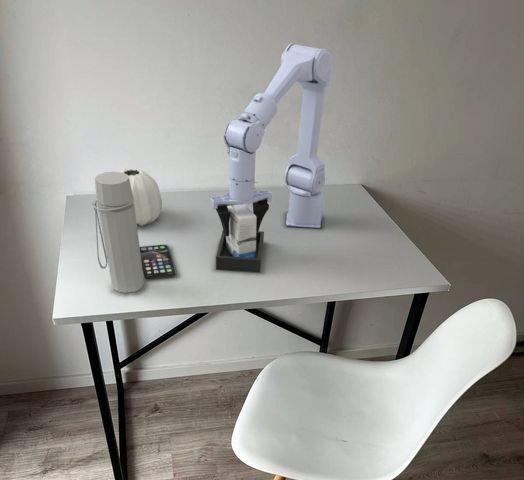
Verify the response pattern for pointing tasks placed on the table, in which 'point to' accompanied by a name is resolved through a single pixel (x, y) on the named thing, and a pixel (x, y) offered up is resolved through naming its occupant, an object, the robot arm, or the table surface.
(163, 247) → the smartphone
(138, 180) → the vase
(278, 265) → the table surface
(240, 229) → the ink box
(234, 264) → the tray
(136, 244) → the water bottle
